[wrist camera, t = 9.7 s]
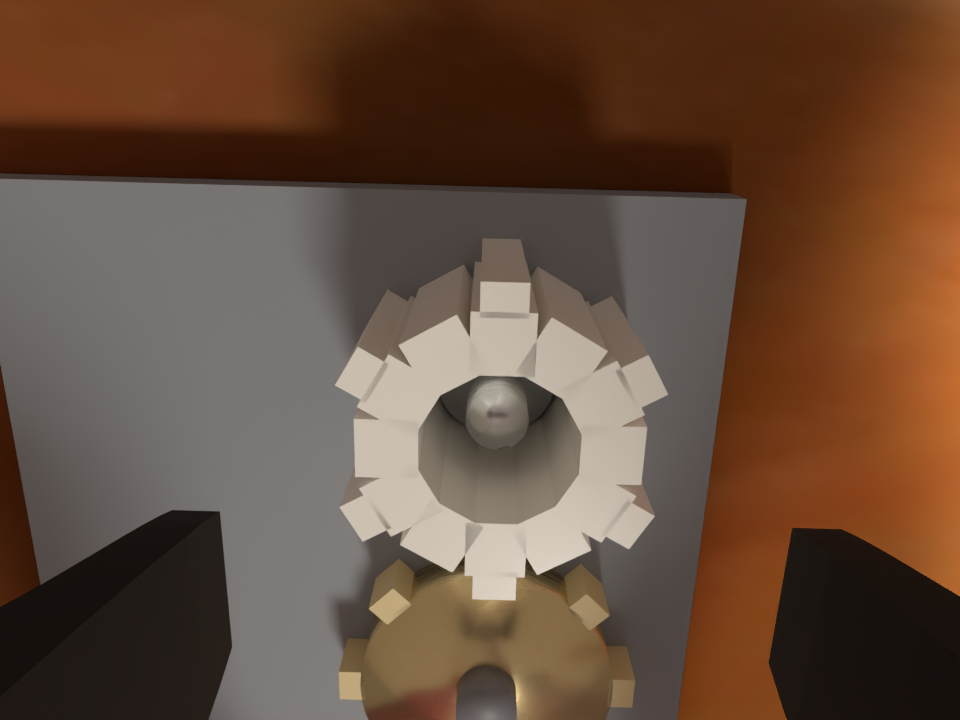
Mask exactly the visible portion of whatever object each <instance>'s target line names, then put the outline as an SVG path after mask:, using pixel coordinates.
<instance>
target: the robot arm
mask: <svg viewBox="0 0 960 720" xmlns="http://www.w3.org/2000/svg"><path fill="white" fill-rule="evenodd" d="M231 650H232V638H231V627H230V616H229V605H228V594H227V583H226V572H225V561H224V550H223V539H222V528H221V517H220V511H189V510H171V511H169V512H167V513H164V514H162V515H160V516H158V517H156V518H154V519H152V520H151V521H149V522H147V523H145V524H143V525H142V526H140V527H138V528H136V529H135V530H133V531H131V532H129V533H128V534H126V535H124V536H122V537H121V538H119V539H117V540H116V541H114V542H112V543H111V544H109V545H107V546H106V547H104V548H102V549H101V550H99V551H97V552H96V553H94V554H92V555H90V556H89V557H87V558H85V559H84V560H82V561H80V562H79V563H77V564H75V565H73V566H72V567H70V568H68V569H67V570H65V571H63V572H62V573H60V574H58V575H56V576H55V577H53V578H51V579H50V580H48V581H46V582H45V583H43V584H41V585H39V586H38V587H36V588H34V589H33V590H31V591H29V592H27V593H25V594H24V595H22V596H20V597H18V598H16V599H14V600H13V601H11V602H9V603H7V604H5V605H3V606H1V607H0V720H209V717H210V714H211V711H212V708H213V705H214V702H215V699H216V696H217V694H218V691H219V688H220V685H221V681H222V678H223V675H224V672H225V669H226V666H227V662H228V659H229V656H230V653H231ZM769 665H770V668H771V671H772V675H773V678H774V681H775V684H776V687H777V691H778V694H779V697H780V700H781V703H782V706H783V709H784V712H785V715H786V718H787V720H960V597H959V596H958V595H956V594H954V593H953V592H951V591H949V590H948V589H946V588H944V587H943V586H941V585H939V584H938V583H936V582H934V581H933V580H931V579H929V578H928V577H926V576H924V575H923V574H921V573H919V572H918V571H916V570H914V569H913V568H911V567H909V566H908V565H906V564H904V563H903V562H901V561H899V560H898V559H896V558H894V557H892V556H891V555H889V554H887V553H886V552H884V551H882V550H880V549H879V548H877V547H875V546H873V545H871V544H870V543H868V542H866V541H864V540H862V539H860V538H858V537H856V536H854V535H852V534H850V533H848V532H846V531H844V530H841V529H810V528H792V533H791V539H790V545H789V550H788V556H787V562H786V567H785V573H784V579H783V585H782V590H781V596H780V602H779V607H778V613H777V619H776V624H775V630H774V636H773V642H772V647H771V653H770V659H769Z"/></svg>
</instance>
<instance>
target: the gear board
mask: <svg viewBox="0 0 960 720" xmlns="http://www.w3.org/2000/svg"><path fill="white" fill-rule="evenodd" d="M746 201H747V199H745V198H742V197H740V196H737V195H735V194H732V193H698V192H662V191H625V190H589V189H552V188H516V187H480V186H443V185H407V184H370V183H334V182H298V181H261V180H225V179H188V178H152V177H116V176H79V175H43V174H6V173H0V365H1V371H2V376H3V382H4V387H5V393H6V398H7V404H8V409H9V415H10V420H11V426H12V431H13V437H14V442H15V447H16V453H17V458H18V464H19V469H20V475H21V480H22V486H23V491H24V497H25V502H26V508H27V513H28V519H29V524H30V530H31V535H32V541H33V546H34V552H35V557H36V563H37V568H38V574H39V579H40V585H41V584H43V583H45V582H46V581H48V580H50V579H51V578H53V577H55V576H56V575H58V574H60V573H62V572H63V571H65V570H67V569H68V568H70V567H72V566H73V565H75V564H77V563H79V562H80V561H82V560H84V559H85V558H87V557H89V556H90V555H92V554H94V553H96V552H97V551H99V550H101V549H102V548H104V547H106V546H107V545H109V544H111V543H112V542H114V541H116V540H117V539H119V538H121V537H122V536H124V535H126V534H128V533H129V532H131V531H133V530H135V529H136V528H138V527H140V526H142V525H143V524H145V523H147V522H149V521H151V520H152V519H154V518H156V517H158V516H160V515H162V514H164V513H167V512H169V511H171V510H189V511H220V517H221V528H222V539H223V550H224V561H225V572H226V583H227V594H228V605H229V616H230V627H231V638H232V650H231V653H230V656H229V659H228V662H227V666H226V669H225V672H224V675H223V678H222V681H221V685H220V688H219V691H218V694H217V696H216V699H215V702H214V705H213V708H212V711H211V714H210V717H209V720H677V715H678V708H679V701H680V693H681V686H682V678H683V671H684V663H685V656H686V648H687V641H688V633H689V626H690V619H691V611H692V604H693V596H694V589H695V581H696V574H697V566H698V559H699V552H700V544H701V537H702V529H703V522H704V514H705V507H706V499H707V492H708V484H709V477H710V470H711V462H712V455H713V447H714V440H715V432H716V425H717V417H718V410H719V403H720V395H721V388H722V380H723V373H724V365H725V358H726V350H727V343H728V335H729V328H730V321H731V313H732V306H733V298H734V291H735V283H736V276H737V268H738V261H739V254H740V246H741V239H742V231H743V224H744V216H745V209H746ZM483 238H493V239H521V242H522V247H523V251H524V256H525V260H526V263H527V265H528V270H529V274H530V277H531V275H532V274H533V272H534V271H535V269H536V268H537V266H538V267H540V268H541V269H543V270H544V271H546V272H548V273H549V274H551V275H553V276H554V277H556V278H557V279H559V280H561V281H562V282H564V283H566V284H567V285H569V286H570V287H572V288H574V289H575V290H577V291H579V292H580V293H581V294H582V296H583V299H584V301H585V302H586V301H588V302H589V304H590V305H591V306H593V305H595V304H597V303H599V302H601V301H603V300H605V299H607V298H609V297H611V296H613V298H614V300H615V301H616V303H617V304H618V306H619V308H620V309H621V311H622V313H623V314H624V316H625V317H626V319H627V321H628V322H629V324H630V326H631V327H632V329H633V330H634V332H635V334H636V335H637V337H638V338H639V340H640V342H641V343H642V345H643V347H644V348H645V350H646V351H647V353H648V355H649V357H650V359H651V361H652V363H653V365H654V367H655V369H656V371H657V373H658V375H659V377H660V379H661V381H662V383H663V385H664V387H665V389H666V391H667V393H668V395H667V396H665V397H663V398H660V399H658V400H656V401H654V402H652V403H650V404H648V405H646V406H644V407H642V410H643V412H644V414H645V415H644V416H642V417H643V419H644V421H645V424H646V426H647V435H646V444H645V454H644V464H643V473H642V485H643V487H644V490H645V492H646V495H647V497H648V500H649V502H650V505H651V507H652V510H653V512H654V515H655V517H654V518H653V519H652V521H651V522H650V523H649V524H648V526H647V527H646V528H645V529H644V531H643V532H642V533H641V535H640V536H639V537H638V538H637V540H636V541H635V542H634V544H633V545H632V546H631V547H630V549H627V548H626V547H624V546H622V545H620V544H618V543H617V542H615V541H613V540H611V539H609V538H608V537H605V539H604V540H603V541H602V542H599V541H597V540H595V539H594V538H592V537H590V536H588V537H589V542H590V546H591V551H589V552H587V553H585V554H583V555H580V556H578V557H576V558H574V559H572V560H569V561H567V562H565V563H563V564H561V565H558V566H556V567H554V568H552V569H550V570H547V571H545V572H543V573H541V574H539V575H537V574H536V572H535V571H534V569H533V567H532V566H531V564H530V563H529V561H528V559H527V558H526V562H525V578H522V577H517V578H516V599H515V600H480V599H472V586H473V576H465V555H464V557H463V558H462V560H461V561H460V563H459V564H458V565H457V567H456V568H455V570H454V571H453V573H452V572H450V571H448V570H446V569H444V568H443V567H441V566H439V565H437V564H435V563H433V562H431V561H429V560H427V559H425V558H424V557H422V556H420V555H418V554H416V553H414V552H412V551H410V550H408V549H407V548H405V547H403V546H401V545H400V542H401V537H402V532H403V531H402V532H400V533H398V534H396V535H394V536H390V535H389V533H388V532H387V530H386V531H384V532H382V533H380V534H378V535H376V536H374V537H372V538H370V539H368V540H365V541H363V542H362V540H361V539H360V537H359V536H358V534H357V533H356V531H355V530H354V528H353V527H352V525H351V524H350V522H349V521H348V519H347V518H346V516H345V515H344V513H343V512H342V510H341V509H340V504H341V501H342V498H343V496H344V493H345V490H346V487H347V485H348V482H349V479H350V476H351V474H352V471H353V468H354V465H355V453H354V417H355V414H356V412H357V410H358V407H357V405H358V403H359V400H360V399H358V398H357V397H355V396H353V395H351V394H350V393H348V392H346V391H344V390H342V389H341V388H339V387H337V386H335V384H336V382H337V380H338V378H339V377H340V375H341V373H342V371H343V369H344V367H345V365H346V363H347V362H348V360H349V358H350V356H351V354H352V352H353V350H354V348H355V347H356V345H357V343H358V341H359V339H360V337H361V335H362V333H363V331H364V330H365V328H366V326H367V324H368V322H369V320H370V319H371V317H372V315H373V313H374V312H375V310H376V308H377V307H378V305H379V303H380V302H381V300H382V298H383V296H384V295H385V293H386V291H387V290H389V291H391V292H393V293H394V294H396V295H398V296H400V297H401V298H403V299H405V300H406V301H408V300H409V299H410V297H411V296H413V297H415V298H416V295H417V292H418V290H419V288H421V287H422V286H424V285H426V284H428V283H430V282H432V281H434V280H436V279H437V278H439V277H441V276H443V275H445V274H447V273H449V272H450V271H452V270H454V269H456V268H458V267H460V266H462V265H465V267H466V268H467V270H468V272H469V274H470V276H471V277H472V279H473V277H474V265H475V262H482V239H483ZM556 396H557V395H555V394H553V393H551V392H550V391H548V390H546V389H545V388H543V387H541V386H539V385H538V384H536V383H534V382H533V381H531V380H529V379H528V378H526V377H514V376H478V377H476V378H474V379H472V380H470V381H468V382H466V383H464V384H462V385H460V386H458V387H456V388H454V389H452V390H450V391H448V392H446V393H444V394H442V395H440V397H439V398H440V400H441V401H442V403H443V405H444V406H445V408H446V410H447V411H448V413H449V415H450V416H452V417H454V418H455V419H457V420H458V421H459V422H461V423H462V424H464V425H465V426H467V429H468V432H469V434H470V435H471V437H472V438H473V439H474V440H475V441H476V442H477V443H478V444H480V445H482V446H484V447H486V448H490V449H505V448H508V447H511V446H513V445H515V444H516V443H518V442H519V441H520V440H521V439H522V438H523V436H524V435H525V433H526V431H527V429H528V425H529V424H530V423H532V422H534V421H536V420H538V419H540V418H541V417H542V416H543V414H544V413H545V412H546V410H547V409H548V407H549V406H550V404H551V403H552V401H553V400H554V399H555V397H556Z"/></svg>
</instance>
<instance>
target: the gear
mask: <svg viewBox="0 0 960 720" xmlns="http://www.w3.org/2000/svg"><path fill="white" fill-rule="evenodd" d="M478 376H514V377H526V378H528V379H529V380H531V381H533V382H534V383H536V384H538V385H539V386H541V387H543V388H545V389H546V390H548V391H550V392H551V393H553V394H555V395H557V396H556V397H555V399H554V400H553V401H552V403H551V404H550V406H549V407H548V409H547V410H546V412H545V413H544V414H543V416H542V417H541V418H540V419H538V420H536V421H534V422H532V423H530V424H529V425H528V429H527V431H526V433H525V435H524V436H523V438H522V439H521V440H520V441H519V442H518V443H516V444H515V445H513V446H511V447H508V448H505V449H490V448H486V447H484V446H482V445H480V444H478V443H477V442H476V441H475V440H474V439H473V438H472V437H471V435H470V434H469V432H468V429H467V426H465V425H464V424H462V423H461V422H459V421H458V420H457V419H455V418H454V417H452V416H450V415H449V413H448V411H447V410H446V408H445V406H444V405H443V403H442V401H441V400H440V398H439V397H440V395H442V394H444V393H446V392H448V391H450V390H452V389H454V388H456V387H458V386H460V385H462V384H464V383H466V382H468V381H470V380H472V379H474V378H476V377H478ZM335 386H337V387H339V388H341V389H342V390H344V391H346V392H348V393H350V394H351V395H353V396H355V397H357V398H358V399H360V400H359V403H358V405H357V407H358V410H357V412H356V414H355V417H354V453H355V465H354V468H353V471H352V474H351V476H350V479H349V482H348V485H347V487H346V490H345V493H344V496H343V498H342V501H341V504H340V509H341V510H342V512H343V513H344V515H345V516H346V518H347V519H348V521H349V522H350V524H351V525H352V527H353V528H354V530H355V531H356V533H357V534H358V536H359V537H360V539H361V540H362V542H363V541H365V540H368V539H370V538H372V537H374V536H376V535H378V534H380V533H382V532H384V531H386V530H387V532H388V533H389V535H390V536H394V535H396V534H398V533H400V532H402V531H403V532H402V537H401V542H400V545H401V546H403V547H405V548H407V549H408V550H410V551H412V552H414V553H416V554H418V555H420V556H422V557H424V558H425V559H427V560H429V561H431V562H433V563H435V564H437V565H439V566H441V567H443V568H444V569H446V570H448V571H450V572H452V573H453V571H454V570H455V568H456V567H457V565H458V564H459V563H460V561H461V560H462V558H463V557H464V555H465V576H473V586H472V599H480V600H515V599H516V578H517V577H522V578H525V562H526V558H527V559H528V561H529V563H530V564H531V566H532V567H533V569H534V571H535V572H536V574H537V575H539V574H541V573H543V572H545V571H547V570H550V569H552V568H554V567H556V566H558V565H561V564H563V563H565V562H567V561H569V560H572V559H574V558H576V557H578V556H580V555H583V554H585V553H587V552H589V551H591V546H590V542H589V537H588V536H590V537H592V538H594V539H595V540H597V541H599V542H602V541H603V540H604V539H605V537H608V538H609V539H611V540H613V541H615V542H617V543H618V544H620V545H622V546H624V547H626V548H627V549H630V547H631V546H632V545H633V544H634V542H635V541H636V540H637V538H638V537H639V536H640V535H641V533H642V532H643V531H644V529H645V528H646V527H647V526H648V524H649V523H650V522H651V521H652V519H653V518H654V517H655V515H654V512H653V510H652V507H651V505H650V502H649V500H648V497H647V495H646V492H645V490H644V487H643V485H642V473H643V464H644V454H645V444H646V435H647V426H646V424H645V421H644V419H643V417H642V416H644V415H645V414H644V412H643V410H642V407H644V406H646V405H648V404H650V403H652V402H654V401H656V400H658V399H660V398H663V397H665V396H667V395H668V393H667V391H666V389H665V387H664V385H663V383H662V381H661V379H660V377H659V375H658V373H657V371H656V369H655V367H654V365H653V363H652V361H651V359H650V357H649V355H648V353H647V351H646V350H645V348H644V347H643V345H642V343H641V342H640V340H639V338H638V337H637V335H636V334H635V332H634V330H633V329H632V327H631V326H630V324H629V322H628V321H627V319H626V317H625V316H624V314H623V313H622V311H621V309H620V308H619V306H618V304H617V303H616V301H615V300H614V298H613V296H611V297H609V298H607V299H605V300H603V301H601V302H599V303H597V304H595V305H593V306H591V305H590V304H589V302H588V301H586V302H585V301H584V299H583V296H582V294H581V293H580V292H579V291H577V290H575V289H574V288H572V287H570V286H569V285H567V284H566V283H564V282H562V281H561V280H559V279H557V278H556V277H554V276H553V275H551V274H549V273H548V272H546V271H544V270H543V269H541V268H540V267H538V266H537V268H536V269H535V271H534V272H533V274H532V275H531V277H530V274H529V270H528V265H527V263H526V260H525V256H524V251H523V247H522V242H521V239H493V238H483V239H482V262H475V265H474V277H473V279H472V277H471V276H470V274H469V272H468V270H467V268H466V267H465V265H462V266H460V267H458V268H456V269H454V270H452V271H450V272H449V273H447V274H445V275H443V276H441V277H439V278H437V279H436V280H434V281H432V282H430V283H428V284H426V285H424V286H422V287H421V288H419V290H418V292H417V295H416V298H415V297H413V296H411V297H410V299H409V300H408V301H406V300H405V299H403V298H401V297H400V296H398V295H396V294H394V293H393V292H391V291H389V290H387V291H386V293H385V295H384V296H383V298H382V300H381V302H380V303H379V305H378V307H377V308H376V310H375V312H374V313H373V315H372V317H371V319H370V320H369V322H368V324H367V326H366V328H365V330H364V331H363V333H362V335H361V337H360V339H359V341H358V343H357V345H356V347H355V348H354V350H353V352H352V354H351V356H350V358H349V360H348V362H347V363H346V365H345V367H344V369H343V371H342V373H341V375H340V377H339V378H338V380H337V382H336V384H335Z"/></svg>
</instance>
